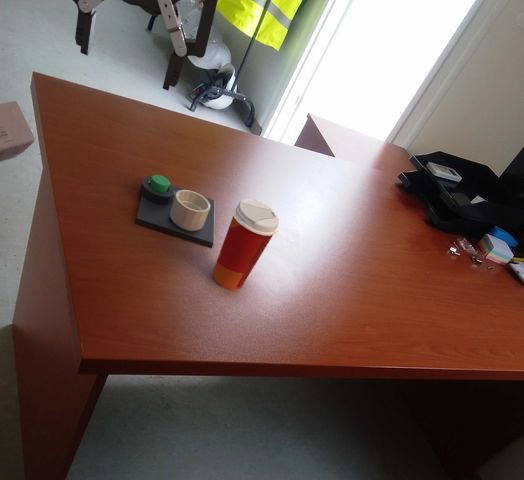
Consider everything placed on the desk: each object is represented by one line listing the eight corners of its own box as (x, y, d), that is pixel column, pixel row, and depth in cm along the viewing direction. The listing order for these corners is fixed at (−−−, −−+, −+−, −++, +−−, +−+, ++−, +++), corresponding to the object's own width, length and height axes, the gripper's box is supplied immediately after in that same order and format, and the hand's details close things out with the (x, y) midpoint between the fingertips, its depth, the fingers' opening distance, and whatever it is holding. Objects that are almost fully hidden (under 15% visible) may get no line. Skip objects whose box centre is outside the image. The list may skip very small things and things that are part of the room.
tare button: (148, 189, 83) (151, 181, 82) (150, 180, 85) (153, 172, 84) (166, 195, 84) (168, 187, 83) (167, 186, 86) (170, 178, 85)
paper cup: (236, 263, 84) (267, 199, 74) (255, 293, 80) (290, 229, 71) (199, 263, 79) (227, 194, 70) (216, 295, 76) (249, 227, 66)
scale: (131, 222, 79) (135, 208, 77) (142, 180, 89) (145, 166, 87) (211, 248, 84) (217, 235, 82) (213, 205, 94) (218, 192, 92)
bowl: (167, 225, 81) (174, 203, 78) (170, 206, 85) (177, 185, 82) (201, 236, 83) (209, 216, 80) (202, 217, 87) (210, 197, 84)
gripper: (66, -185, 33) (47, 51, 44) (246, -79, 38) (189, 111, 49) (87, -181, 38) (65, 30, 49) (244, -88, 43) (192, 86, 54)
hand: (127, 70), depth 49 cm, fingers open, 8 cm apart
